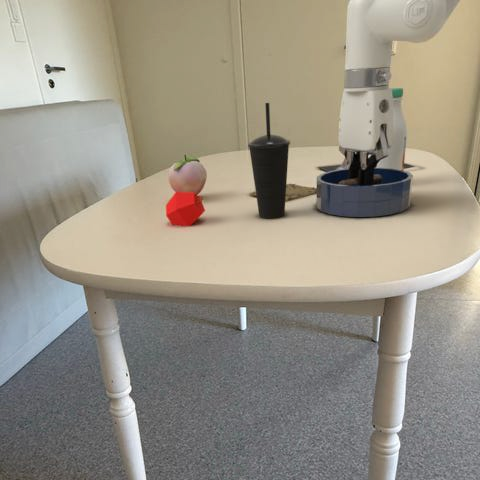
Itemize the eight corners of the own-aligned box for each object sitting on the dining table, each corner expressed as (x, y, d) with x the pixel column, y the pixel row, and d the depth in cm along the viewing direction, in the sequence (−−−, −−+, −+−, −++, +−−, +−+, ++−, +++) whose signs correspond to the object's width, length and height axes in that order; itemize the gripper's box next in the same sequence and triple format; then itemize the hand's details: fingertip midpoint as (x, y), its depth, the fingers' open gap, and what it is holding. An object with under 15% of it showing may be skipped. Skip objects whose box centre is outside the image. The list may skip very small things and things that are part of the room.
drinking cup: (256, 224, 82) (249, 105, 73) (249, 214, 89) (242, 104, 80) (296, 220, 83) (294, 101, 74) (286, 210, 90) (283, 100, 80)
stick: (376, 184, 89) (377, 172, 88) (384, 185, 87) (385, 174, 86) (334, 192, 85) (335, 180, 84) (342, 194, 83) (342, 182, 82)
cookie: (287, 185, 109) (287, 181, 109) (323, 192, 100) (323, 188, 100) (248, 195, 103) (248, 191, 103) (282, 203, 94) (282, 198, 94)
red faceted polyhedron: (152, 200, 82) (189, 183, 79) (168, 198, 88) (202, 182, 86) (167, 235, 84) (203, 220, 81) (181, 231, 90) (216, 217, 87)
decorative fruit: (183, 194, 110) (177, 151, 105) (213, 195, 107) (209, 151, 102) (164, 204, 102) (157, 158, 97) (196, 205, 99) (190, 158, 94)
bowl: (366, 192, 98) (367, 164, 95) (429, 208, 84) (433, 175, 81) (299, 207, 91) (298, 177, 89) (356, 226, 77) (357, 191, 75)
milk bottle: (397, 191, 97) (407, 88, 87) (362, 190, 100) (367, 90, 91) (405, 184, 102) (415, 86, 93) (371, 182, 106) (377, 88, 96)
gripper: (418, 77, 72) (405, 192, 81) (353, 80, 85) (348, 179, 94) (382, 81, 69) (373, 199, 78) (321, 83, 82) (319, 185, 91)
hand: (360, 188), depth 86 cm, fingers closed on stick, 2 cm apart
